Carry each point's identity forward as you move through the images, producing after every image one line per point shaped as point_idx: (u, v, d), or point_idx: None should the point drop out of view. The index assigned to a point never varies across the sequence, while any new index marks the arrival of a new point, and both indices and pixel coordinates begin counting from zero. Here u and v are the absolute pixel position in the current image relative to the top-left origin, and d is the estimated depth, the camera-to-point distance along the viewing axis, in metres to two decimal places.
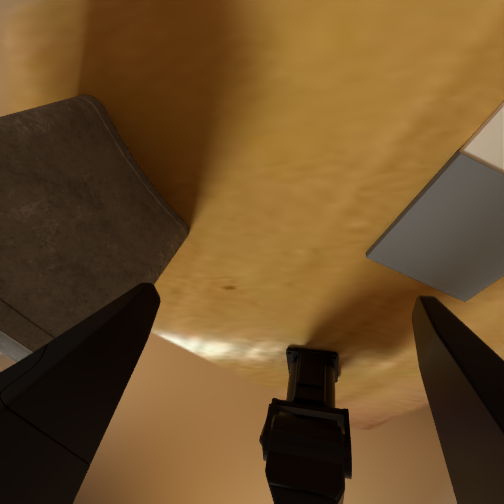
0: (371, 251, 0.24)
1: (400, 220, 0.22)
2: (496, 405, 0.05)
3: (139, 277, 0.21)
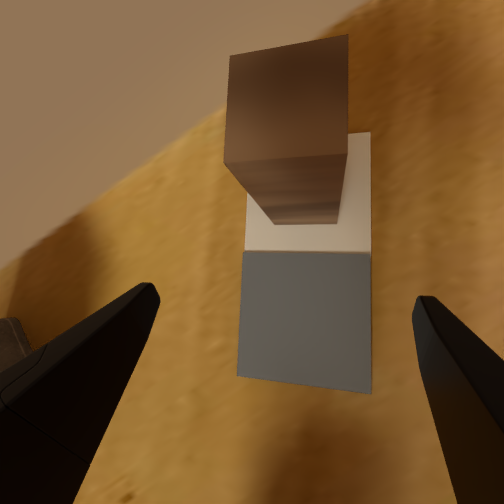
0: (237, 366, 0.22)
1: (240, 321, 0.23)
2: (496, 405, 0.05)
3: None
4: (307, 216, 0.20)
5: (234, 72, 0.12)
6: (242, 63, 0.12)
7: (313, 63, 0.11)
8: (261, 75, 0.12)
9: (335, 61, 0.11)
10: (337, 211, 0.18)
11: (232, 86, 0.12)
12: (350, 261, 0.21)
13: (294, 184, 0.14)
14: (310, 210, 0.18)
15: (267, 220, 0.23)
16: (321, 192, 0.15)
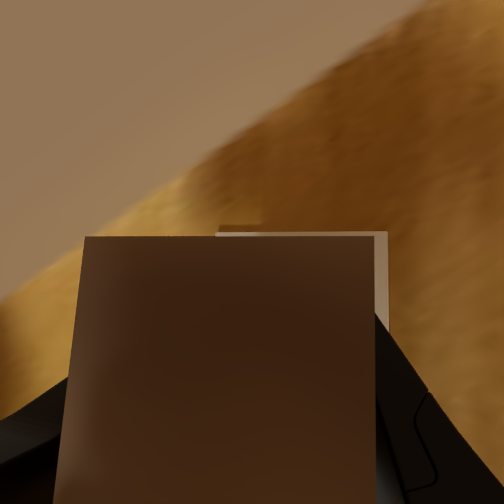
0: None
1: None
2: (380, 390, 0.06)
3: None
4: None
5: (91, 282, 0.05)
6: (109, 263, 0.05)
7: (277, 305, 0.04)
8: (148, 307, 0.05)
9: (338, 315, 0.04)
10: None
11: (84, 320, 0.05)
12: None
13: None
14: None
15: None
16: None
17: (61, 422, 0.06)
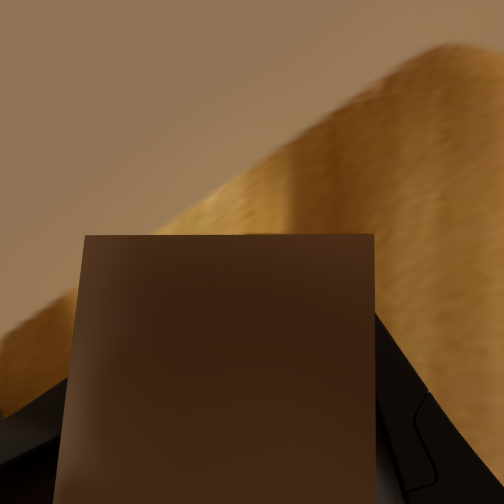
0: None
1: None
2: (380, 390, 0.06)
3: None
4: None
5: (91, 281, 0.05)
6: (109, 262, 0.05)
7: (276, 303, 0.04)
8: (148, 306, 0.05)
9: (338, 314, 0.04)
10: None
11: (84, 319, 0.05)
12: None
13: None
14: None
15: None
16: None
17: (61, 422, 0.06)
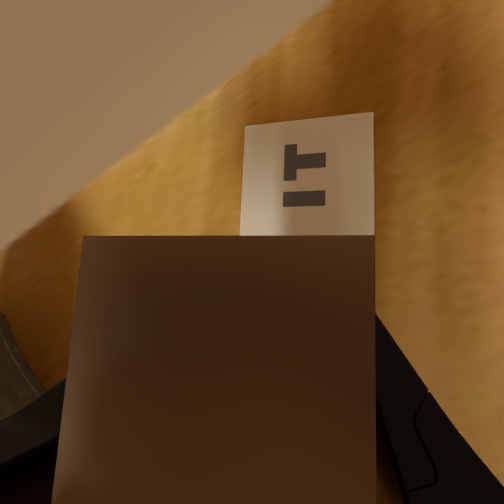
0: None
1: None
2: (380, 390, 0.06)
3: None
4: None
5: (90, 282, 0.05)
6: (108, 263, 0.05)
7: (276, 305, 0.04)
8: (147, 307, 0.05)
9: (338, 315, 0.04)
10: None
11: (82, 320, 0.05)
12: None
13: None
14: None
15: (263, 207, 0.22)
16: None
17: None
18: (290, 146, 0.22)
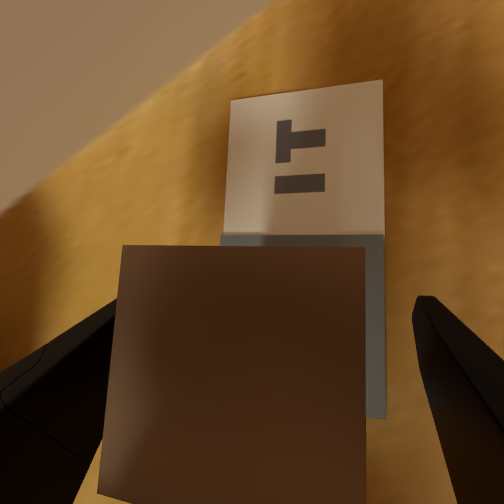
0: None
1: None
2: (496, 405, 0.05)
3: None
4: None
5: (129, 284, 0.06)
6: (144, 268, 0.06)
7: (286, 302, 0.05)
8: (179, 304, 0.06)
9: (336, 310, 0.05)
10: None
11: (123, 316, 0.06)
12: (357, 244, 0.16)
13: None
14: None
15: (251, 194, 0.19)
16: None
17: None
18: (283, 122, 0.19)
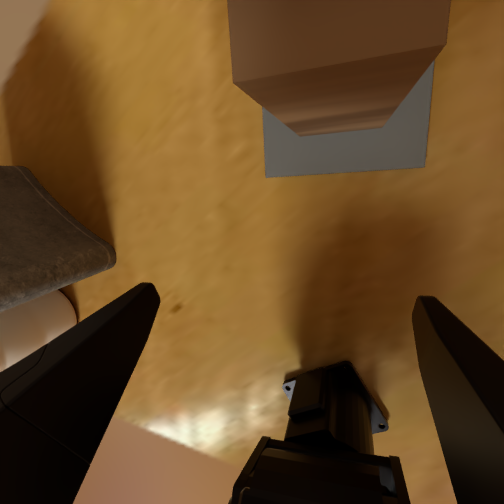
0: (265, 167, 0.20)
1: (263, 112, 0.19)
2: (496, 405, 0.05)
3: (15, 268, 0.20)
4: (345, 125, 0.15)
5: None
6: None
7: None
8: None
9: None
10: (389, 116, 0.14)
11: None
12: None
13: (337, 96, 0.10)
14: (352, 118, 0.14)
15: None
16: (375, 99, 0.10)
17: None
18: None
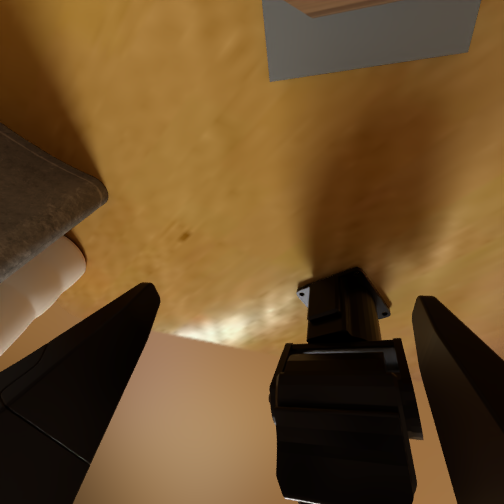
0: (268, 66, 0.16)
1: None
2: (496, 405, 0.05)
3: (8, 226, 0.18)
4: (380, 2, 0.12)
5: None
6: None
7: None
8: None
9: None
10: None
11: None
12: None
13: None
14: None
15: None
16: None
17: None
18: None
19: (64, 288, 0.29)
